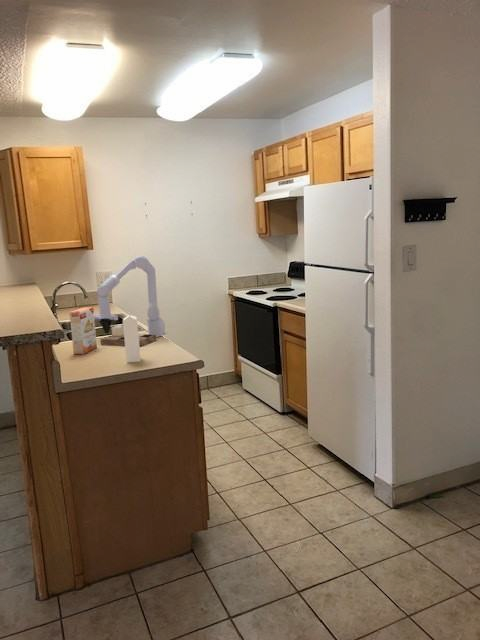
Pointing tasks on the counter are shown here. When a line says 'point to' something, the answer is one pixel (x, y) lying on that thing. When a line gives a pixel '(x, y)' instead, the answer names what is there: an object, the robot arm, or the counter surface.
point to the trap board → (120, 340)
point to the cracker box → (83, 330)
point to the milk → (131, 338)
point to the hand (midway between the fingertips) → (107, 332)
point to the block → (117, 330)
